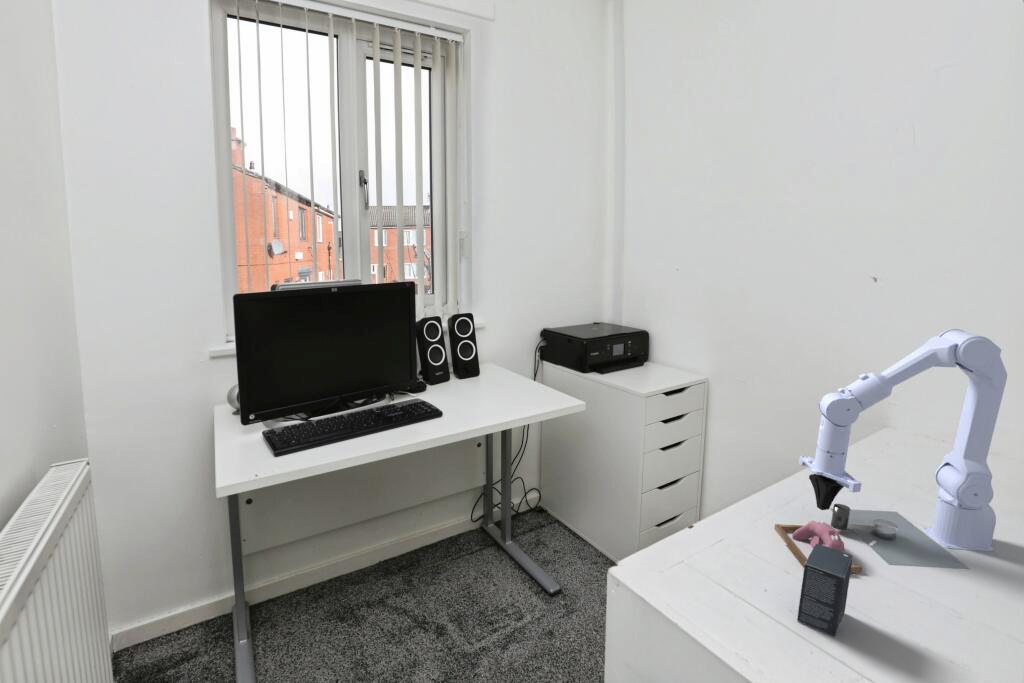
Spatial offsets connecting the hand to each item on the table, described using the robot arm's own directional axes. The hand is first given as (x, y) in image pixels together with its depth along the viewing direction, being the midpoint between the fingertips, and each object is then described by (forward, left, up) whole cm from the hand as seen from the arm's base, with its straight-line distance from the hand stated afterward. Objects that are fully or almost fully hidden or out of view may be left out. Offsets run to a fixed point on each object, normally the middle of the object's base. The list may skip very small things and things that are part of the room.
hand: (823, 508), depth 121 cm
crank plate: (-12, +5, -3) cm, 14 cm away
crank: (-6, +5, -3) cm, 8 cm away
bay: (+7, +12, -3) cm, 14 cm away
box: (+16, +32, -4) cm, 36 cm away
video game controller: (+7, +12, -4) cm, 14 cm away
